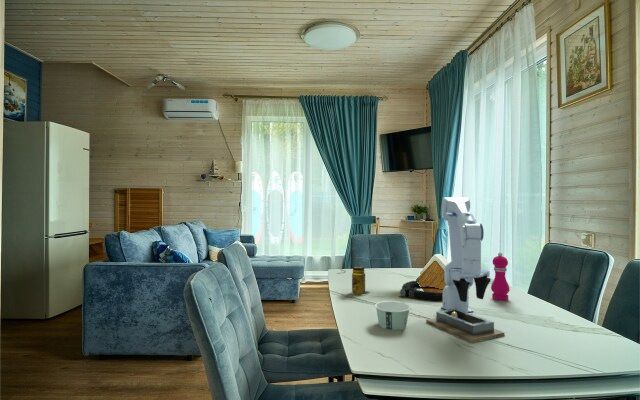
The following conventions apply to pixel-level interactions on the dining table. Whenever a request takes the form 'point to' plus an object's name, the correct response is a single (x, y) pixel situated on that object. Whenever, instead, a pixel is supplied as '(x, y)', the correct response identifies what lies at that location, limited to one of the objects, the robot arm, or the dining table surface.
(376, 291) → the dining table surface
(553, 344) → the dining table surface
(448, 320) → the grey shallow tray
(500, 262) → the pepper mill
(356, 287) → the condiment
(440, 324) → the board
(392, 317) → the food container
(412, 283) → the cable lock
